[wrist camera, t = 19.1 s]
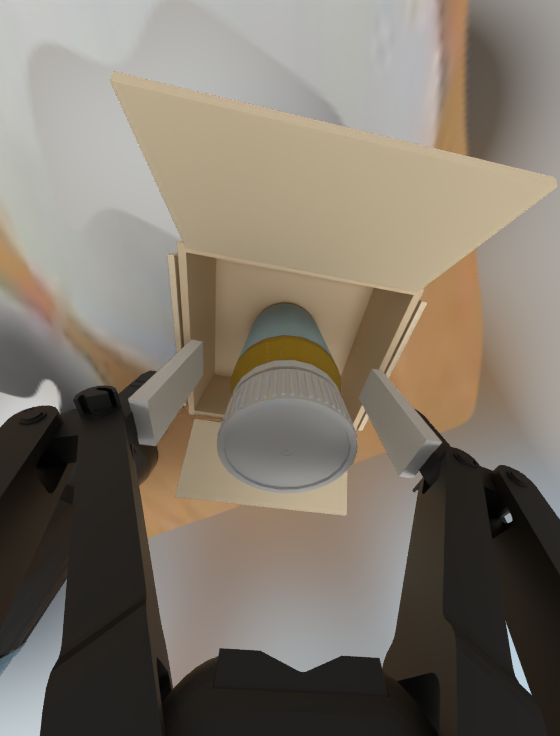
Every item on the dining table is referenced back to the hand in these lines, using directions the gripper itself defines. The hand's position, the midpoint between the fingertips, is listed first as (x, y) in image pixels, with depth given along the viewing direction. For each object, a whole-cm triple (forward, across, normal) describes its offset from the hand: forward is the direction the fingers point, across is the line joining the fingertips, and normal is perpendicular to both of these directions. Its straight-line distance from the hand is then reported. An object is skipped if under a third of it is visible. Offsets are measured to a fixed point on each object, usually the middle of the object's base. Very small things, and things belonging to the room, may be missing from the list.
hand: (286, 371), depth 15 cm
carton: (+8, 0, 0) cm, 8 cm away
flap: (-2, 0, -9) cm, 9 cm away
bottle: (+8, 0, 0) cm, 8 cm away
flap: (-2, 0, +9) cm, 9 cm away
